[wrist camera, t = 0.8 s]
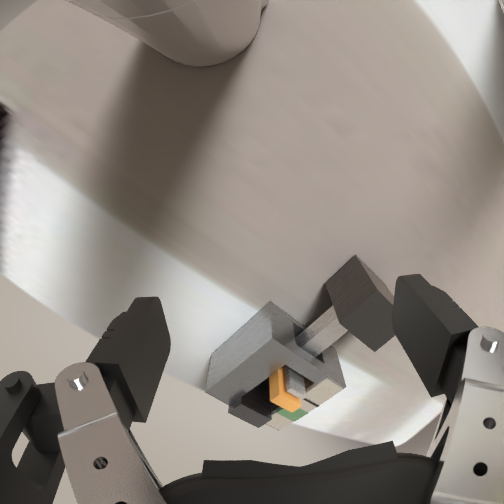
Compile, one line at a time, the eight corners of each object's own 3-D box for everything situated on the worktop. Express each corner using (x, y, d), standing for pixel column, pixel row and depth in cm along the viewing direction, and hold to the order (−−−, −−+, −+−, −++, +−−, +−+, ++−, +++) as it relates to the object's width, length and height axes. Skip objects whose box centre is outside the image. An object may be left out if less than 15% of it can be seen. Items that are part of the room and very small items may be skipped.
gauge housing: (270, 300, 31) (272, 345, 25) (335, 349, 34) (348, 394, 27) (211, 353, 34) (203, 399, 28) (276, 393, 37) (279, 437, 30)
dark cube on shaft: (355, 254, 29) (381, 296, 22) (385, 285, 30) (414, 329, 23) (271, 331, 32) (274, 383, 25) (304, 354, 33) (313, 405, 27)
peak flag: (276, 344, 32) (279, 394, 25) (295, 357, 33) (301, 406, 26) (268, 350, 32) (269, 401, 26) (287, 363, 33) (292, 412, 27)
